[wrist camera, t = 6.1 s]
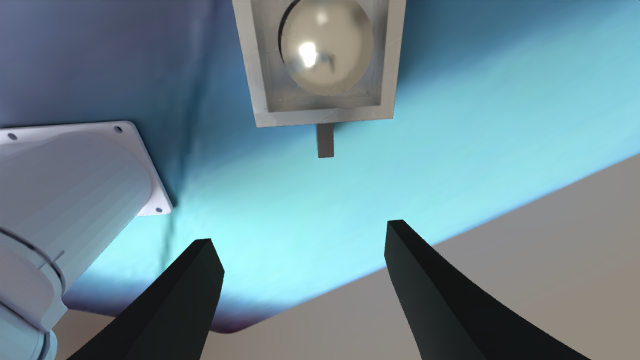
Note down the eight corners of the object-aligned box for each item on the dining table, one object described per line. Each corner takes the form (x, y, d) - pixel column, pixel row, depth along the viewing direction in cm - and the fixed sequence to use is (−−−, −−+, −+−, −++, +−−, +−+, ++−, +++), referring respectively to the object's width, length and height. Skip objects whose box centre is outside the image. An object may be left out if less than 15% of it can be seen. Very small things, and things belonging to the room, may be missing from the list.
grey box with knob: (270, 142, 18) (263, 164, 15) (239, -41, 13) (220, -63, 10) (374, 135, 18) (388, 155, 15) (388, -48, 13) (414, -71, 10)
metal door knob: (284, 87, 16) (275, 113, 11) (273, -6, 13) (254, -29, 8) (357, 82, 16) (382, 106, 11) (360, -10, 13) (395, -36, 8)
